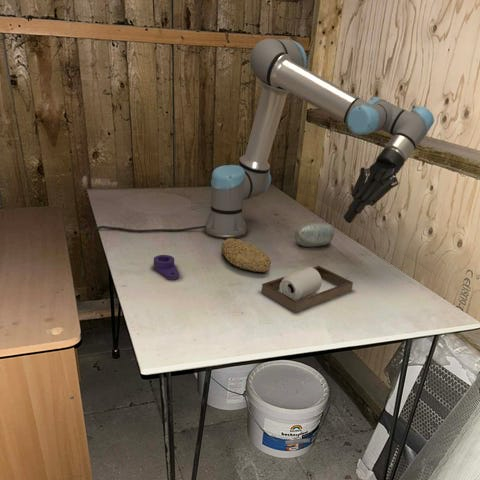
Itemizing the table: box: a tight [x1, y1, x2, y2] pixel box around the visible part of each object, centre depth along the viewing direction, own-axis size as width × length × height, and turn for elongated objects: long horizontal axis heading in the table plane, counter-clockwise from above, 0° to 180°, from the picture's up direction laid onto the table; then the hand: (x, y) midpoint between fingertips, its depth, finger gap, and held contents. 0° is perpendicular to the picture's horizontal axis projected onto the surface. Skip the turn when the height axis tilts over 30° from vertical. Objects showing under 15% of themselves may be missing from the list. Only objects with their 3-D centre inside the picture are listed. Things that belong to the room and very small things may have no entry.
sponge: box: [221, 238, 272, 273], centre depth 154 cm, size 13×8×20 cm
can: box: [278, 266, 323, 301], centre depth 137 cm, size 8×8×12 cm
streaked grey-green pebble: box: [295, 221, 335, 248], centre depth 172 cm, size 14×10×10 cm
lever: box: [153, 254, 180, 281], centre depth 146 cm, size 12×6×3 cm, turn 29°
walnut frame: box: [261, 265, 354, 314], centre depth 141 cm, size 24×14×3 cm, turn 129°
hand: (346, 220), depth 138 cm, fingers closed
